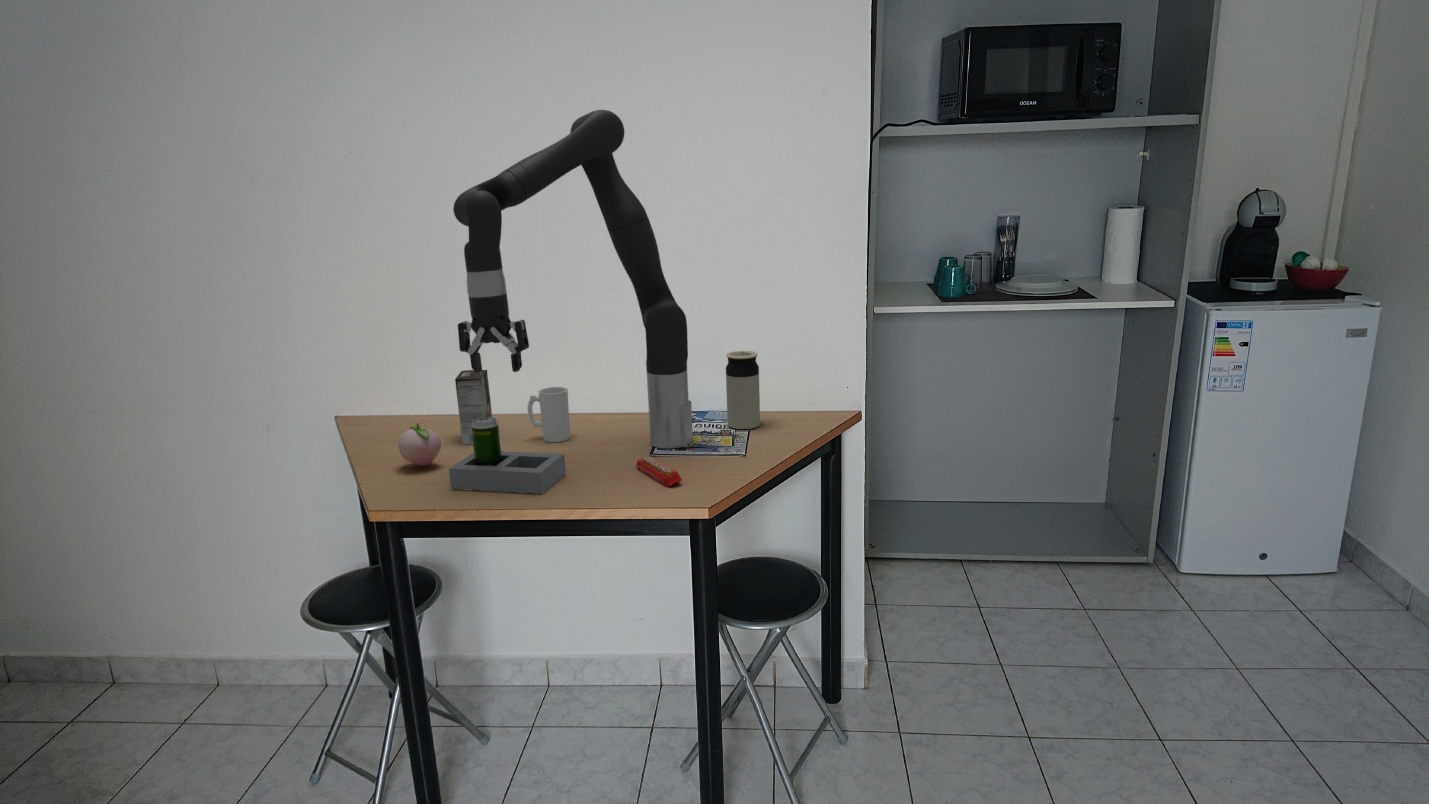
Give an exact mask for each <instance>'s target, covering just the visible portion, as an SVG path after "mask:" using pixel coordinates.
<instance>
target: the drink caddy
mask: <svg viewBox="0 0 1429 804" xmlns="http://www.w3.org/2000/svg"><path fill="white" fill-rule="evenodd" d="M501 457H502V462H501V463H499V464H498V465H496V466H477V465H475V456H474V452H472V453H471V454H469V455H468V456H466V457H465V458H463V459H461V460H459V461H458V462H456V463H455V464H453V465H452V466H450V467H449V468H448V474H449V482H450V489H451V488H452V489H451V490H454V489H471V490H470V491H472V490H480V491H479V492H490V491H496V492H495V493H509V492H517V493H516V494H519V493H518V492H522V493H521V494H527V493H535V494H534V495H543V494H544V493H546V492H547V491H548V490H549V489H550V488H551V487H553V486H554V485H555V484H556V483H557V482H558V481H560V480H561V479H562V478H563V477H565V475H566V462H565V461H566V459H565V454H564V453H550V452H547V453H546V452H523V451H502V450H501ZM547 489H548V490H547ZM546 490H547V491H546ZM543 492H544V493H543Z"/></svg>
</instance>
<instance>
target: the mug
mask: <svg viewBox="0 0 1429 804" xmlns="http://www.w3.org/2000/svg"><path fill="white" fill-rule="evenodd" d="M537 393H538V395H537V394H530V398H529V401H528V403H527V413H528V417H529V419H530V421H531V423H532V426H533V427H534V428H540V429H542V434H543V435H542V436H543V440H544V441H545V442H547V443H561V442H565V441H568V440H569V439H570V438H571V428H570V410H569V408H570V407H569V394H568V393H569V392H568V388H567V387H564V386H548V387H545V388H540V389H539V390H538V392H537ZM535 402H539V408H540V409H539V410H540V418H541V421H540V420H537V419H536V417H535V415H534V413H533V405H534V403H535Z"/></svg>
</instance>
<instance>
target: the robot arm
mask: <svg viewBox="0 0 1429 804" xmlns="http://www.w3.org/2000/svg"><path fill="white" fill-rule="evenodd" d="M624 139H625V127H624V124H623V121H622V120H621V118H620V117H619V116H618V115H617V114H616V113H615V112H612V111H610V110H607V109H598V110H592V111H590V112H588V113H585V114H584V115H582V116H579V117H578V118H577V119H576V120H575V121H573V123H572V125H571V128H570V133H568V135H566V136H564V137H563V138H561V139H560V140H558V141H556V142H554V143H552V144H551V145H549V146H547V147H544V148H543V149H541V150H539V151H537V152H535V153H533V154H530V155H529V156H527V157H525V158H522V159H521V160H519V161H518V162H516V163H514V164H513V165H512V166H509V167H507V168H506V169H504V170H503V171H502V172H500V173H499V174H497V175H495V176H493V177H492V178H490V179H486V180H484V181H483V182H481V183H479V184H476V185H474V186H472V187H470V188H468V189H467V190H465V191H463V192H462V193H460V194H459V195H458V196H457V197H456V199H455V201H454V204H453V216H455V219H456V220H457V222H459V223H460V224H462V225H464V226H465V227H467V228H468V242H466V243H465V244H464V247H463V248H464V249H463V253H464V254H463V255H464V262H465V270H466V288H467V289H466V290H467V295H468V304H469V312H470V317H471V322H470V321H467V320H464V321H461V322H459V323H458V324H457V330H458V331H457V332H458V334H457V335H458V345H459V351H460V352H462V353H464V352H465V353H467V354H468V355H469V358H470V367H471V370H474V372H480V371H482V370H483V363H482V358H481V357H482V356H481V353H480V352H479V351H480V350H481V348H482V347H483V346H482V345H483V344H491V343H493V344H499V343H501V344H502V345H503V346H504V347H506V348H507V350H508V351H509V352H510V353H511V354H510V359H511V368H512V369H511V370H512V372H513V373H518V372H520V370H521V368H522V367H523V362H522V351H525V350H527V349H529V348H530V344H529V337H528V332H527V326H526V321H525V319H520V320H517V321H511V319H510V310H509V302H508V291H507V286H506V285H507V284H506V278H505V273H504V269H503V263H502V254H501V253H502V252H501V247H500V245H501V239H502V225H503V224H502V222H503V219H502V216H503V215H502V211H504V210H505V209H509V208H512V207H516V206H519V205H521V204H522V203H524V202H526V201H527V200H528V199H531V198H532V197H533V196H535V195H537V194H538V193H540V192H541V191H543V190H544V189H546V188H547V187H549V186H550V185H551V184H554V183H555V182H556V181H557V180H559V179H561V178H562V177H564V176H565V175H567V174H568V173H569V172H572V170H574V169H576V168H578V167H580V166H581V168H582V169H583V172H584V173H585V175H586V178H587V179H588V181H589V184H590V187H591V188H592V191H593V193H594V196H595V200H596V201H597V204H598V207H599V210H600V212H601V214H602V217H603V220H604V223H605V226H606V228H607V231H608V234H609V237H610V239H611V243H612V245H613V247H614V249H615V253H616V254H617V256H618V258H619V260H620V262H621V265H622V267H623V268H624V270H625V272H626V274H627V276H628V278H629V280H630V281H631V285H632V287H633V289H634V292H635V296H636V299H637V303H638V307H639V309H640V310H639V311H640V313H641V314H640V315H641V320H642V324H643V327H644V330H645V343H646V344H645V345H646V348H645V349H646V361H645V367H646V382H647V383H646V384H647V385H646V386H647V387H646V388H647V399H648V402H647V403H648V420H649V437H650V439H649V440H650V445H651V446H652V447H655V448H657V449H678V448H687V447H688V446H689V445H690V444H691V443H692V442H693V440H694V439H693V436H694V434H693V433H694V432H693V414H692V413H693V412H692V411H693V409H692V400H690V399H689V383H688V381H689V380H688V379H689V378H688V359H689V349H688V348H689V347H688V346H689V344H688V343H689V342H688V341H689V340H688V323H687V322H688V321H687V317H686V314H685V312H684V310H683V309H682V307H680V306H679V304H678V303H677V301H676V299H675V297H674V296H673V293H672V292H671V289H670V287H669V284H668V283H667V281H666V278H665V276H664V272H663V269H662V264H661V257H660V253H659V252H660V251H659V247H658V243H657V240H656V236H655V233H654V229H653V227H652V223H651V221H650V219H649V216H648V214H647V211H646V209H645V207H644V206H643V204H642V203H641V201H640V199H639V198H638V197H637V196H636V194H635V193H634V192H633V191H632V190H631V188H630V187H629V186H628V184H626V182H625V181H624V178H623V177H622V175H621V173H620V172H619V169H618V166H617V163H616V159H615V158H614V152H616V151H618V149H619V148H620V147H621V145H622V143H623V141H624ZM511 329H512V330H513V331H514V333H515V336H516V338H515V337H514V336H513V335H512V333H511V332H510V331H511ZM471 331H473V333H475V336H474V337H473V339H472V341H471V335H470V333H471ZM688 444H689V445H688Z"/></svg>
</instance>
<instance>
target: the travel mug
mask: <svg viewBox="0 0 1429 804" xmlns="http://www.w3.org/2000/svg"><path fill="white" fill-rule="evenodd" d="M725 355H726V357H727V361H728V362H727V364H726V366H725V379H726V380H725V383H726V385H725V386H726V388H725V389H726V412H727V413H726V414H727V415H726V416H727V420H726V421H727V426H728V427H729V426H730V427H732V428H736V429H735V430H737V429H749V430H753V429H752V428H754V429H757V428H758V427H760V425H761V408H760V407H761V404H760V402H761V400H760V395H761V394H760V368H759V365H758V363H757V357H758V352H756V351H751V350H736V351H731V352H728V353H726V354H725ZM730 427H729V428H730ZM732 428H731V429H732Z"/></svg>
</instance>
